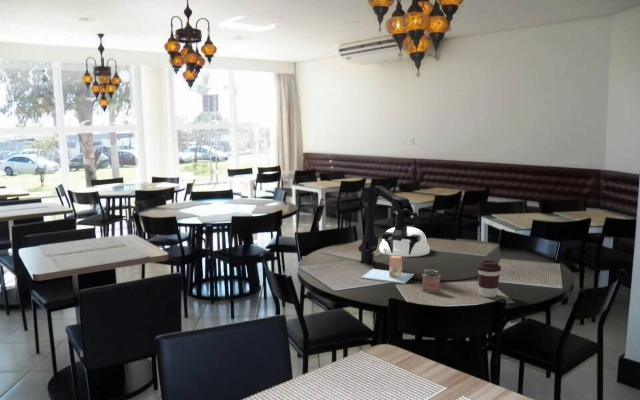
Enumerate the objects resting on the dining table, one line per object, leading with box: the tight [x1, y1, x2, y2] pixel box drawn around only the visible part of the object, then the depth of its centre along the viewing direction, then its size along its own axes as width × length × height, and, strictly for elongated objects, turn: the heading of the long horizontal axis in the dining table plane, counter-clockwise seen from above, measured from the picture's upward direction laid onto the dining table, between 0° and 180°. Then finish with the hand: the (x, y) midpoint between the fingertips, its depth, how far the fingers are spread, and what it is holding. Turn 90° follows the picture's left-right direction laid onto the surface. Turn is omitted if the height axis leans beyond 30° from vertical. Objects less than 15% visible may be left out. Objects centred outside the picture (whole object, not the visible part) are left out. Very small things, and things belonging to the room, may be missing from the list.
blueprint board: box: [360, 268, 415, 285], centre depth 259 cm, size 22×16×1 cm
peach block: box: [388, 255, 403, 268], centre depth 256 cm, size 5×5×5 cm
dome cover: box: [378, 226, 431, 258], centre depth 312 cm, size 32×30×14 cm
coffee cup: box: [476, 259, 502, 298], centre depth 229 cm, size 10×10×15 cm
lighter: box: [421, 269, 442, 294], centre depth 235 cm, size 8×3×10 cm, turn 71°
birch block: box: [388, 265, 403, 278], centre depth 257 cm, size 5×5×5 cm
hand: (400, 253), depth 263 cm, fingers open, 9 cm apart
